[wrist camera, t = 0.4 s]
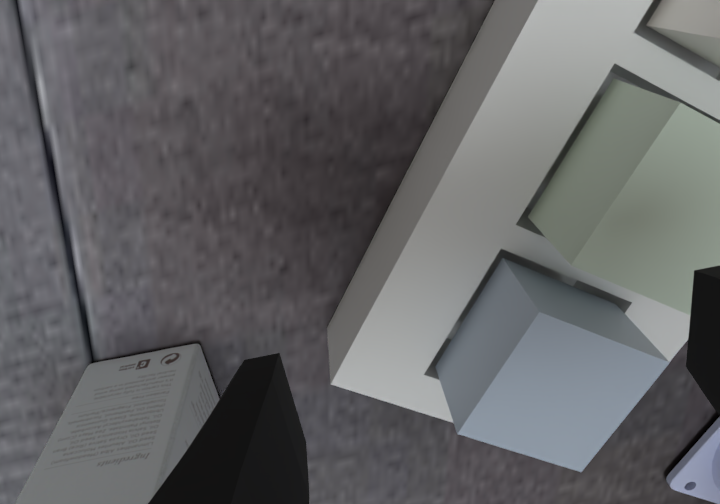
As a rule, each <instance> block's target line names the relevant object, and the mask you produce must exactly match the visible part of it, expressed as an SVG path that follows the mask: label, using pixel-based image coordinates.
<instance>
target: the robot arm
mask: <svg viewBox="0 0 720 504" xmlns="http://www.w3.org/2000/svg"><path fill="white" fill-rule="evenodd" d="M686 367H687V369H688V370H689V372H690V373H691V375H692V376H693V378H694V379H695V381H696V382H697V384H698V385H699V387H700V388H701V390H702V391H703V393H704V394H705V396H706V397H707V399H708V400H709V401H710V403H711V404H712V406H713V407H714V408H715V410H716V411H717V413H718V414H719V415H720V265H719V266H714V267H709V268H704V269H699V270H694V278H693V290H692V302H691V314H690V326H689V338H688V350H687V362H686ZM666 481H667V483H668V485H669V486H670V487H671V489H673V490H675V491H678V492H681V493H685V494H688V495H691V496H694V497H697V498H700V499H704V500H707V501H710V502H713V503H716V504H720V417H719V418H718V419H717V420H716V421H715V422H714V423H713V424H712V426H711V427H710V428H709V429H708V430H707V431H706V432H705V433H704V435H703V436H702V437H701V438H700V439H699V440H698V441H697V442H696V444H695V445H694V446H693V447H692V448H691V449H690V450H689V451H688V453H687V454H686V455H685V456H684V457H683V458H682V459H681V460H680V462H679V463H678V464H677V465H676V466H675V467H674V468H673V469H672V471H671V472H670V473H669V474H668V476H667V478H666ZM148 504H309V483H308V466H307V452H306V441H305V437H304V434H303V431H302V427H301V424H300V421H299V417H298V414H297V411H296V407H295V404H294V401H293V397H292V394H291V391H290V387H289V384H288V380H287V377H286V374H285V370H284V367H283V364H282V360H281V357H280V354H279V353H278V354H273V355H268V356H263V357H258V358H253V359H248V360H244V362H243V363H242V365H241V366H240V367H239V369H238V371H237V372H236V374H235V375H234V377H233V379H232V380H231V382H230V383H229V385H228V387H227V388H226V390H225V392H224V393H223V395H222V397H221V398H220V400H219V401H218V403H217V405H216V406H215V408H214V409H213V411H212V413H211V414H210V416H209V417H208V419H207V420H206V422H205V423H204V425H203V426H202V428H201V429H200V431H199V432H198V434H197V436H196V437H195V439H194V440H193V442H192V443H191V445H190V446H189V448H188V449H187V451H186V452H185V454H184V455H183V456H182V458H181V459H180V461H179V462H178V464H177V465H176V466H175V468H174V469H173V470H172V472H171V473H170V474H169V476H168V477H167V478H166V480H165V481H164V483H163V484H162V485H161V487H160V488H159V489H158V491H157V492H156V493H155V495H154V496H153V498H152V499H151V500H150V502H149V503H148Z"/></svg>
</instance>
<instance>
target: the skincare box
mask: <svg viewBox="0 0 720 504" xmlns="http://www.w3.org/2000/svg"><path fill="white" fill-rule="evenodd" d="M219 400H220V399H219V396H218V393H217V391H216V388H215V385H214V382H213V380H212V377H211V374H210V371H209V369H208V366H207V363H206V360H205V357H204V355H203V352H202V349H201V346H200V345H199V344H190V345H185V346H179V347H174V348H169V349H164V350H159V351H155V352H149V353H143V354H138V355H134V356H128V357H123V358H117V359H112V360H106V361H100V362H96V363H92V364H90V365H89V366H88V367H87V368H86V370H85V372H84V374H83V375H82V378H81V380H80V382H79V383H78V385H77V387H76V389H75V391H74V393H73V395H72V397H71V399H70V400H69V402H68V404H67V406H66V408H65V410H64V412H63V414H62V416H61V418H60V419H59V421H58V423H57V425H56V427H55V429H54V431H53V433H52V435H51V437H50V438H49V440H48V442H47V444H46V446H45V448H44V450H43V452H42V454H41V455H40V457H39V459H38V461H37V463H36V465H35V467H34V469H33V471H32V473H31V474H30V476H29V478H28V480H27V482H26V484H25V485H24V487H23V489H22V491H21V493H20V495H19V497H18V499H17V501H16V503H15V504H148V503H149V502H150V500H151V499H152V498H153V496H154V495H155V493H156V492H157V491H158V489H159V488H160V487H161V485H162V484H163V483H164V481H165V480H166V478H167V477H168V476H169V474H170V473H171V472H172V470H173V469H174V468H175V466H176V465H177V464H178V462H179V461H180V459H181V458H182V456H183V455H184V454H185V452H186V451H187V449H188V448H189V446H190V445H191V443H192V442H193V440H194V439H195V437H196V436H197V434H198V432H199V431H200V429H201V428H202V426H203V425H204V423H205V422H206V420H207V419H208V417H209V416H210V414H211V413H212V411H213V409H214V408H215V406H216V405H217V403H218V401H219Z"/></svg>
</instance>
